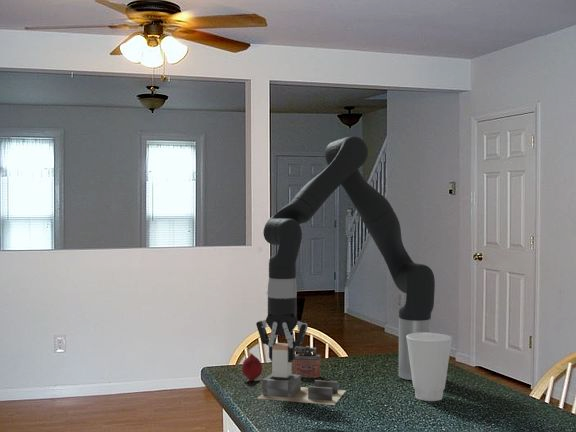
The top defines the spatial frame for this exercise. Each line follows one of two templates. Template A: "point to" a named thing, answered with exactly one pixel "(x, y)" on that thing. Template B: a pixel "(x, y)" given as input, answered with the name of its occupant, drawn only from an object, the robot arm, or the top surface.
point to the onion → (252, 367)
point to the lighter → (306, 362)
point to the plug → (280, 360)
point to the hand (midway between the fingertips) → (281, 360)
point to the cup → (429, 363)
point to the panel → (300, 390)
